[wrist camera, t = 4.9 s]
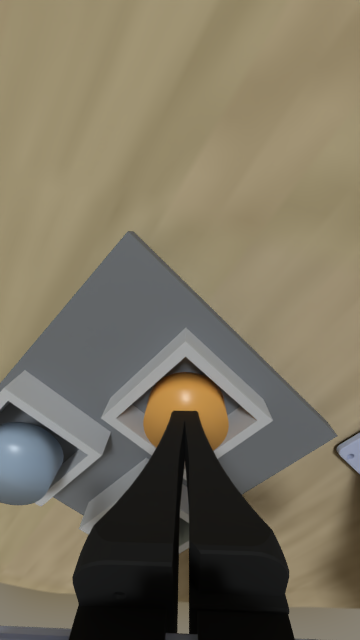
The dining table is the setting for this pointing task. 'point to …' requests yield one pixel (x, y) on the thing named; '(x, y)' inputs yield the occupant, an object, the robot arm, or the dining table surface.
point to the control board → (148, 385)
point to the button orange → (186, 406)
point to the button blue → (27, 462)
